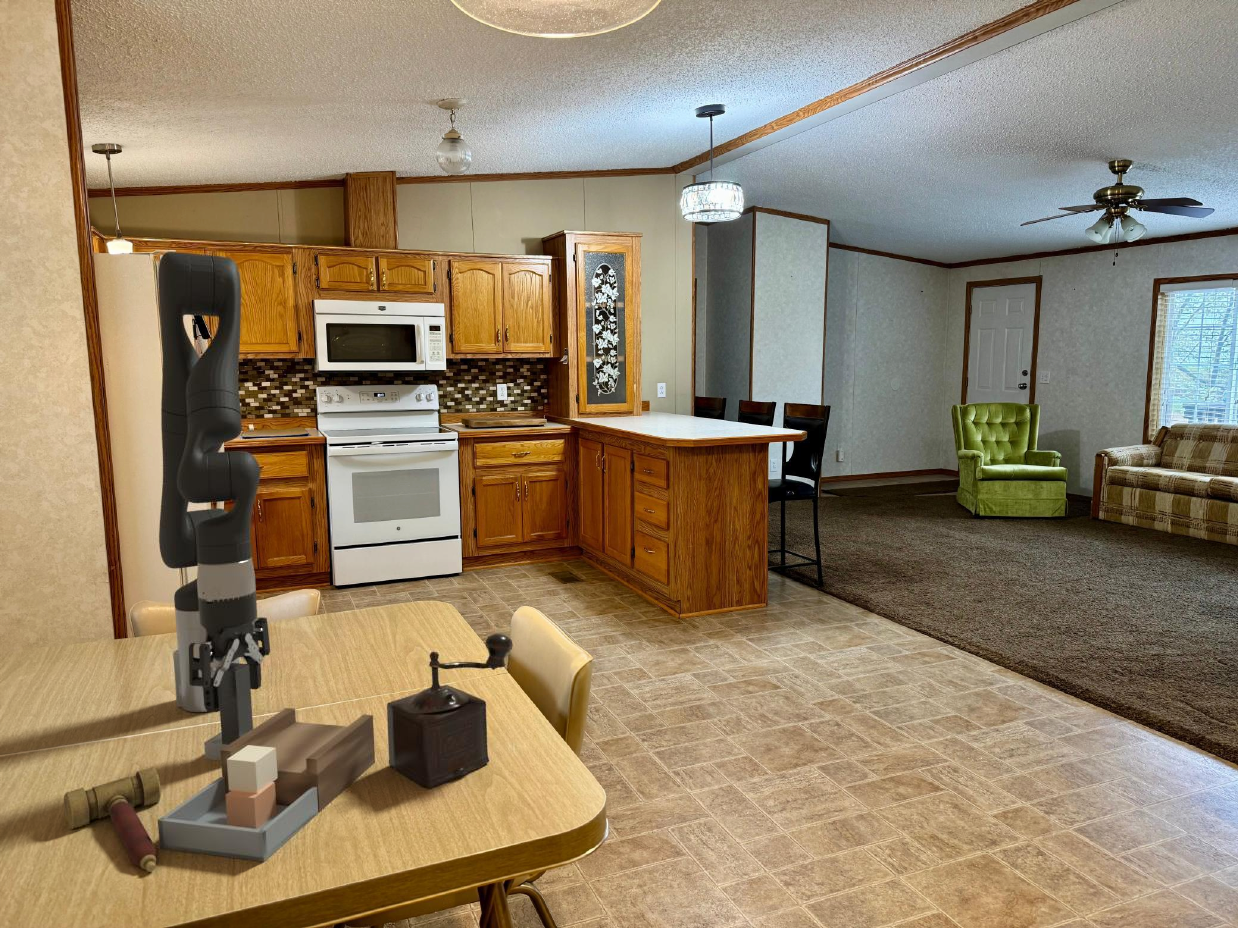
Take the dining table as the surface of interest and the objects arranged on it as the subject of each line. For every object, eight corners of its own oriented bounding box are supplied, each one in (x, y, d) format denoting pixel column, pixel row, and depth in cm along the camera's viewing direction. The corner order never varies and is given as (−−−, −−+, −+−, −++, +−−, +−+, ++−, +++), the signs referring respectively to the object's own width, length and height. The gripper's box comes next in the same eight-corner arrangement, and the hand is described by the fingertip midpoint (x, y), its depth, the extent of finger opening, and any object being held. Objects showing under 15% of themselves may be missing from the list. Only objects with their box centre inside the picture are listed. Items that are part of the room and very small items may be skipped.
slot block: (223, 801, 109) (220, 749, 108) (288, 753, 123) (285, 707, 122) (319, 811, 106) (316, 759, 105) (375, 761, 119) (372, 715, 119)
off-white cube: (228, 790, 103) (226, 759, 102) (250, 774, 107) (248, 744, 106) (257, 793, 102) (255, 762, 101) (277, 777, 106) (275, 747, 105)
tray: (159, 847, 98) (157, 819, 98) (222, 802, 109) (220, 776, 108) (264, 861, 95) (262, 832, 95) (318, 813, 106) (316, 786, 105)
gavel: (198, 832, 96) (98, 868, 89) (200, 869, 97) (101, 906, 90) (150, 761, 111) (62, 786, 105) (152, 792, 112) (65, 820, 105)
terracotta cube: (248, 809, 106) (227, 825, 102) (246, 779, 105) (225, 794, 102) (276, 812, 105) (256, 829, 101) (274, 782, 105) (254, 797, 101)
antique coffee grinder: (429, 792, 111) (424, 661, 109) (386, 765, 118) (381, 643, 116) (521, 753, 122) (518, 633, 120) (476, 731, 129) (472, 618, 127)
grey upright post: (205, 758, 122) (198, 669, 120) (222, 747, 125) (216, 660, 124) (256, 763, 120) (250, 673, 118) (272, 752, 123) (266, 664, 122)
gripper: (237, 577, 127) (244, 679, 129) (167, 602, 113) (176, 716, 115) (280, 579, 126) (286, 683, 127) (215, 605, 112) (223, 721, 114)
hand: (234, 699), depth 121 cm, fingers open, 8 cm apart
